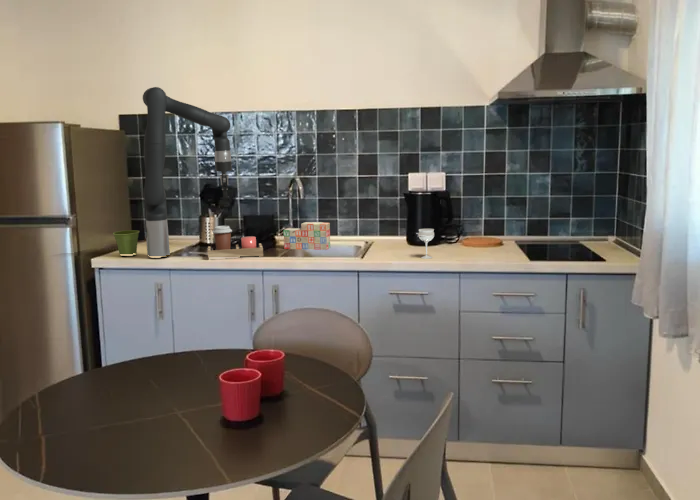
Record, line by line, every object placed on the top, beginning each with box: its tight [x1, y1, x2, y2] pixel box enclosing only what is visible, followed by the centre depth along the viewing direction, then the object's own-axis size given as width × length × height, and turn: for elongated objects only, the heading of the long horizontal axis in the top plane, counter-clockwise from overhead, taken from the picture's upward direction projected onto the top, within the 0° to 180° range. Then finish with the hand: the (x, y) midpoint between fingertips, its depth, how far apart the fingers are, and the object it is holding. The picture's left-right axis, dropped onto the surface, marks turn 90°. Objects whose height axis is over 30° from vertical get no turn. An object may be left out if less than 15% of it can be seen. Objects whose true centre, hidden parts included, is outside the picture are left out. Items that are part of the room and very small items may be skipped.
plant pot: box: [112, 230, 140, 255], centre depth 305 cm, size 12×12×11 cm
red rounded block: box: [240, 235, 257, 249], centre depth 299 cm, size 6×6×8 cm
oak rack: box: [207, 243, 264, 258], centre depth 298 cm, size 13×24×4 cm, turn 101°
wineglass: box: [417, 227, 435, 259], centre depth 279 cm, size 7×7×12 cm
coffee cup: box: [211, 225, 233, 250], centre depth 308 cm, size 9×9×12 cm
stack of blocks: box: [282, 221, 331, 251], centre depth 312 cm, size 21×6×12 cm, turn 75°
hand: (225, 197), depth 310 cm, fingers closed
